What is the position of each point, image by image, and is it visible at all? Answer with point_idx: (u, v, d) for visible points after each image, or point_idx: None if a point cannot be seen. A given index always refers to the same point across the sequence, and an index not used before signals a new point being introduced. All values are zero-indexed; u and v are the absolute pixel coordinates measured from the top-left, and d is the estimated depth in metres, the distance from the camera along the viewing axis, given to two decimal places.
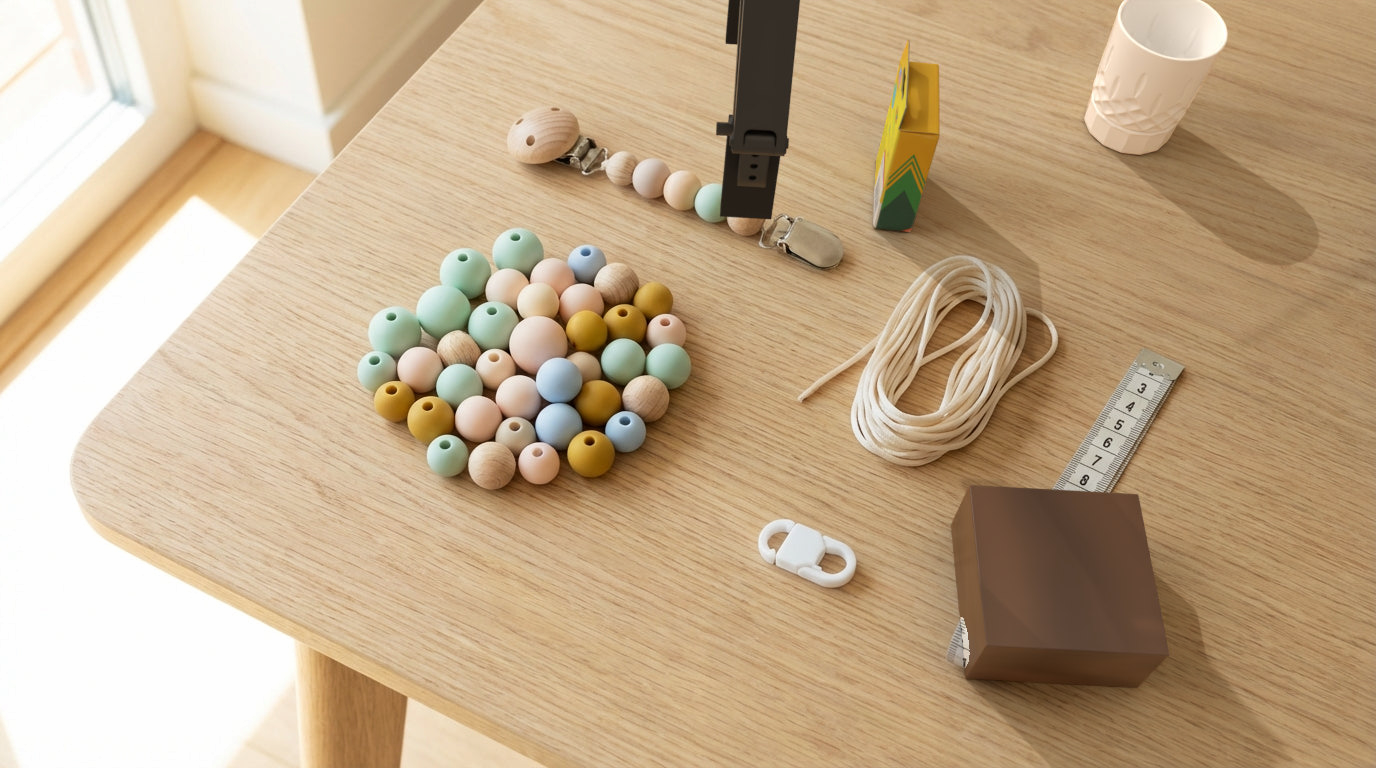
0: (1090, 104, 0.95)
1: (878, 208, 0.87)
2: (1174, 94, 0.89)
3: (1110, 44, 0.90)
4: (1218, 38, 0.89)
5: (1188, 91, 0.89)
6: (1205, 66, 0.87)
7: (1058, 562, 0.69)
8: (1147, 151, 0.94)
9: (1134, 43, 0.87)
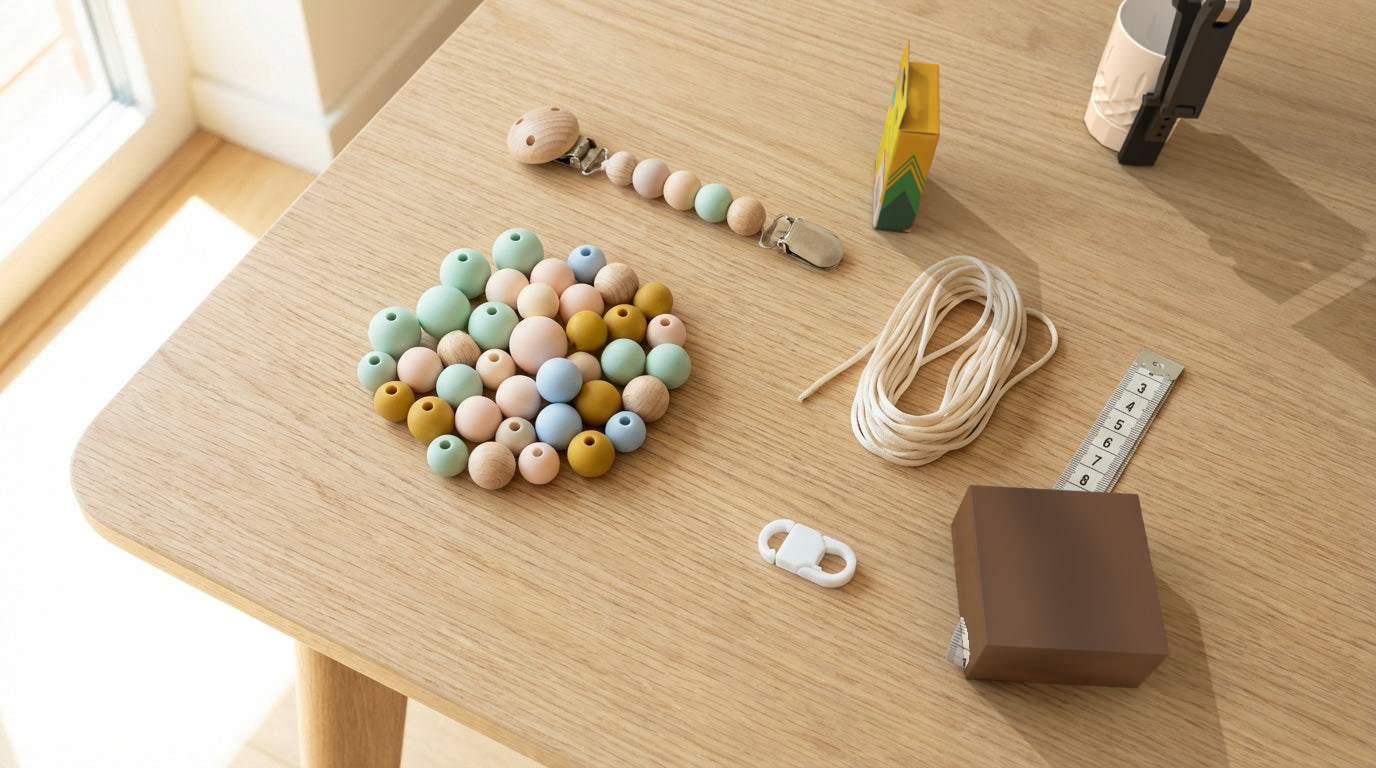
0: (1090, 104, 0.95)
1: (878, 208, 0.87)
2: None
3: (1110, 44, 0.90)
4: None
5: None
6: None
7: (1058, 562, 0.69)
8: None
9: (1134, 43, 0.87)
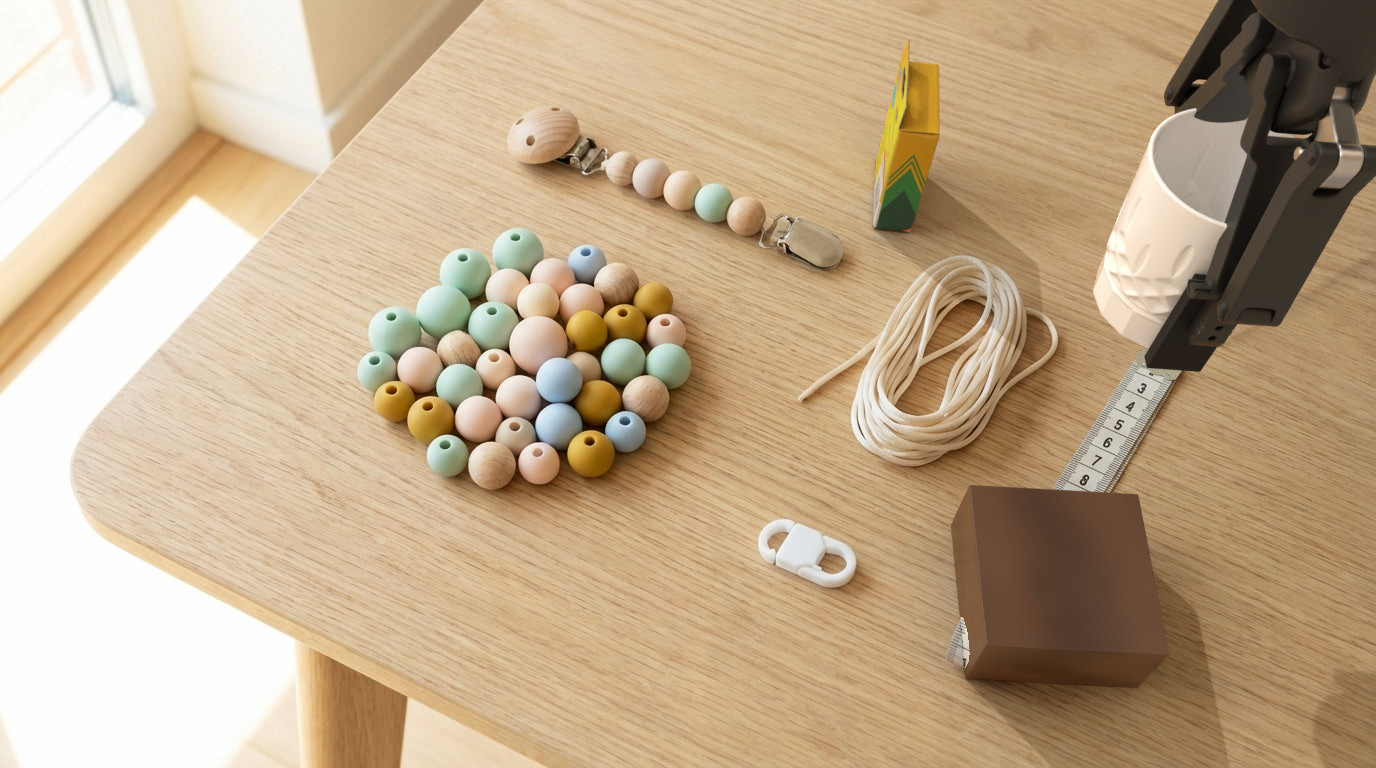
0: (1102, 273, 0.62)
1: (878, 208, 0.87)
2: None
3: (1135, 194, 0.57)
4: None
5: None
6: None
7: (1058, 562, 0.69)
8: None
9: (1174, 200, 0.54)
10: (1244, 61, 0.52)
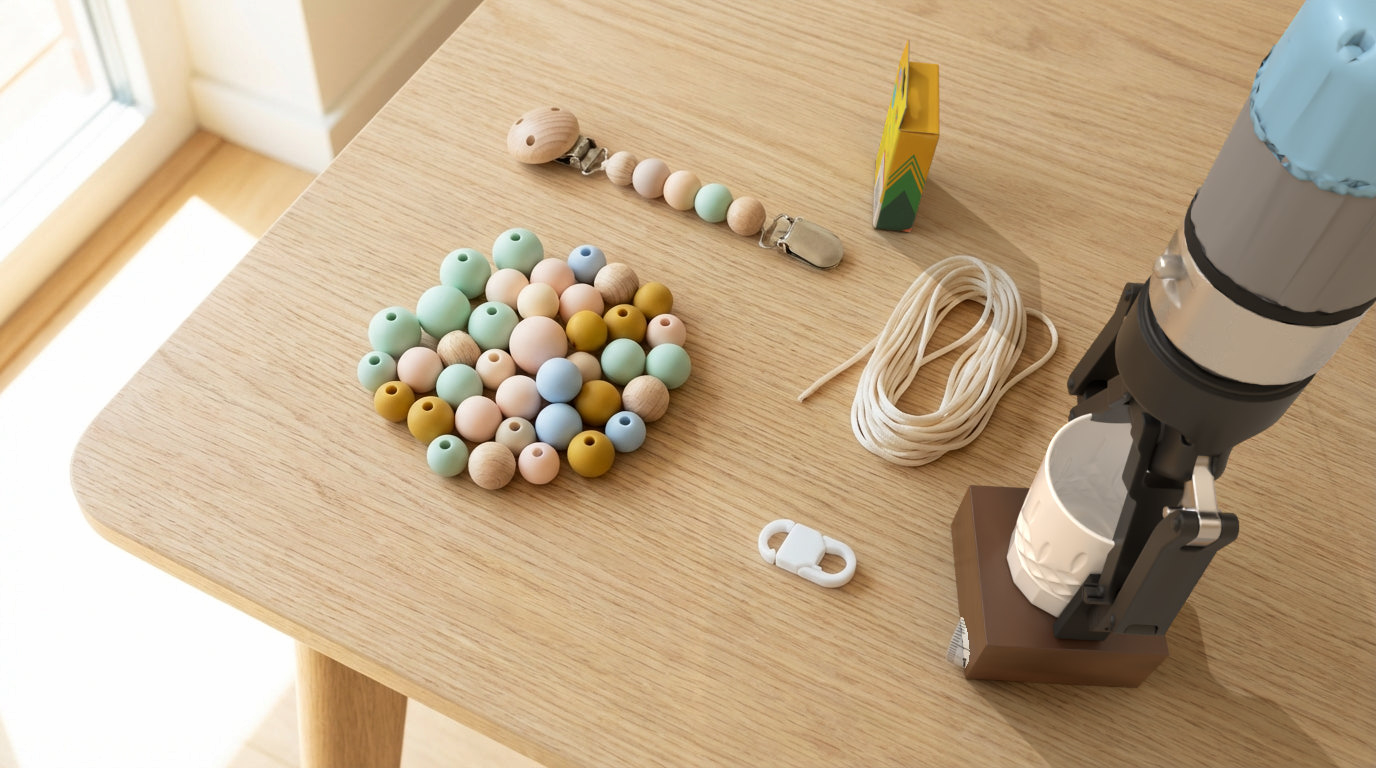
0: (1013, 546, 0.67)
1: (878, 208, 0.87)
2: None
3: (1036, 495, 0.62)
4: None
5: None
6: None
7: None
8: None
9: (1067, 517, 0.59)
10: (1125, 399, 0.57)
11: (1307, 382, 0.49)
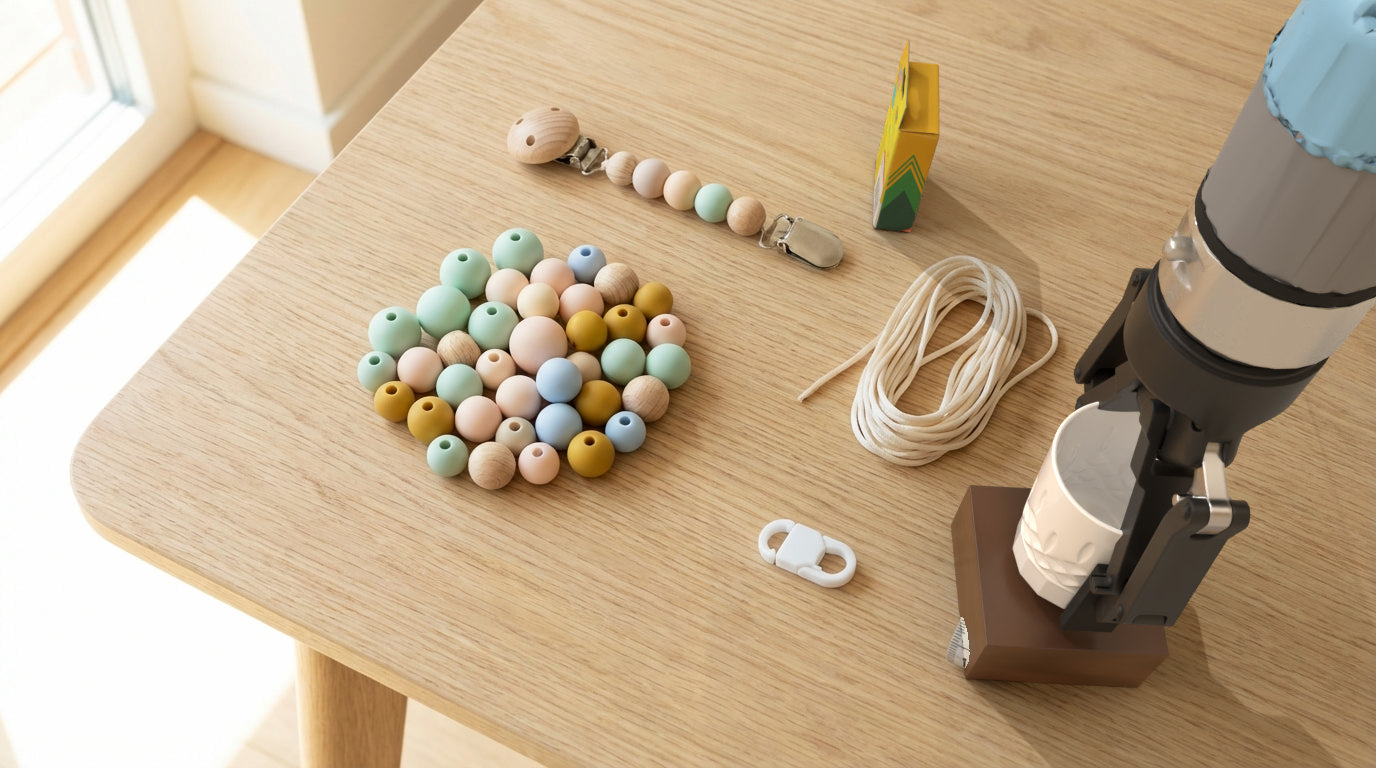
0: (1019, 537, 0.66)
1: (878, 208, 0.87)
2: None
3: (1042, 485, 0.61)
4: None
5: None
6: None
7: None
8: None
9: (1074, 506, 0.58)
10: (1134, 386, 0.56)
11: (1320, 366, 0.48)
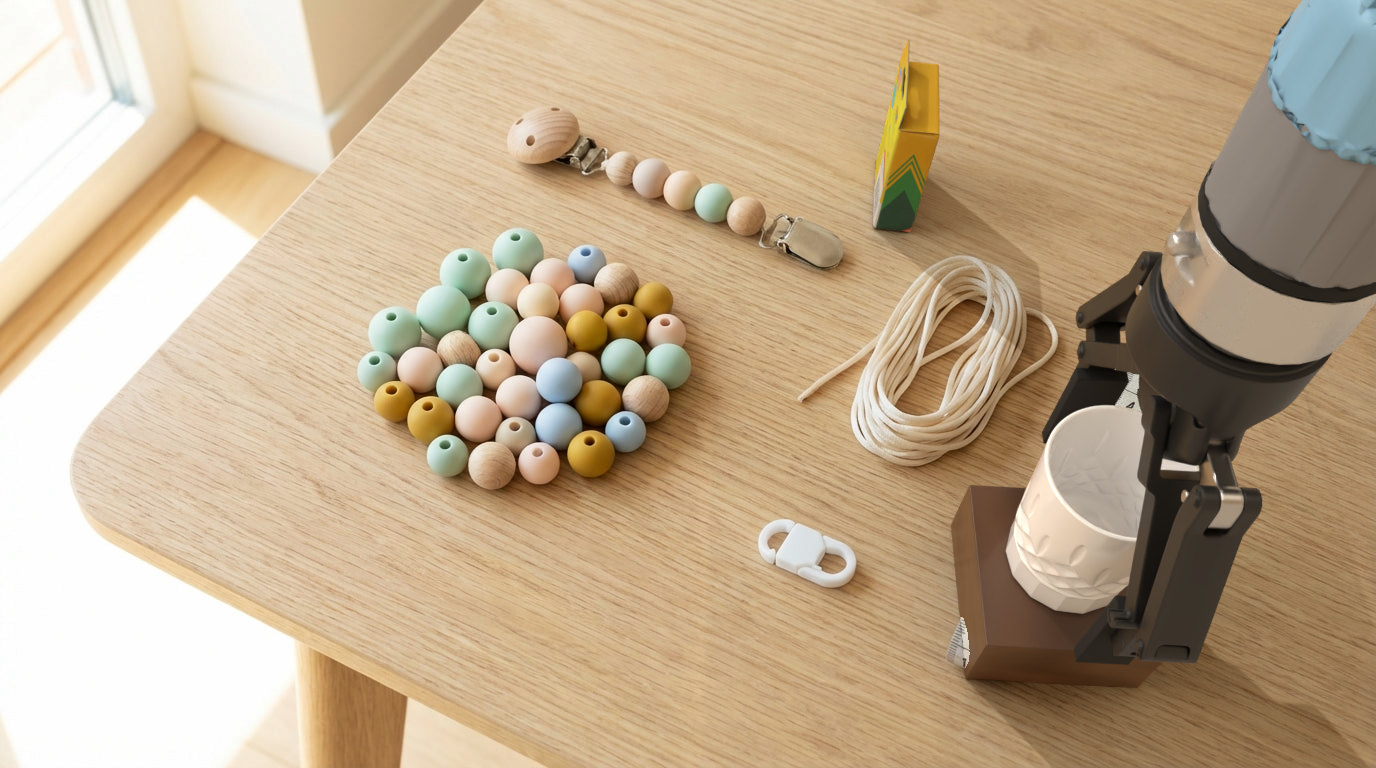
0: (1012, 540, 0.67)
1: (878, 208, 0.87)
2: (1126, 569, 0.61)
3: (1035, 488, 0.62)
4: None
5: None
6: None
7: None
8: (1092, 609, 0.67)
9: (1067, 509, 0.59)
10: None
11: (1323, 363, 0.48)
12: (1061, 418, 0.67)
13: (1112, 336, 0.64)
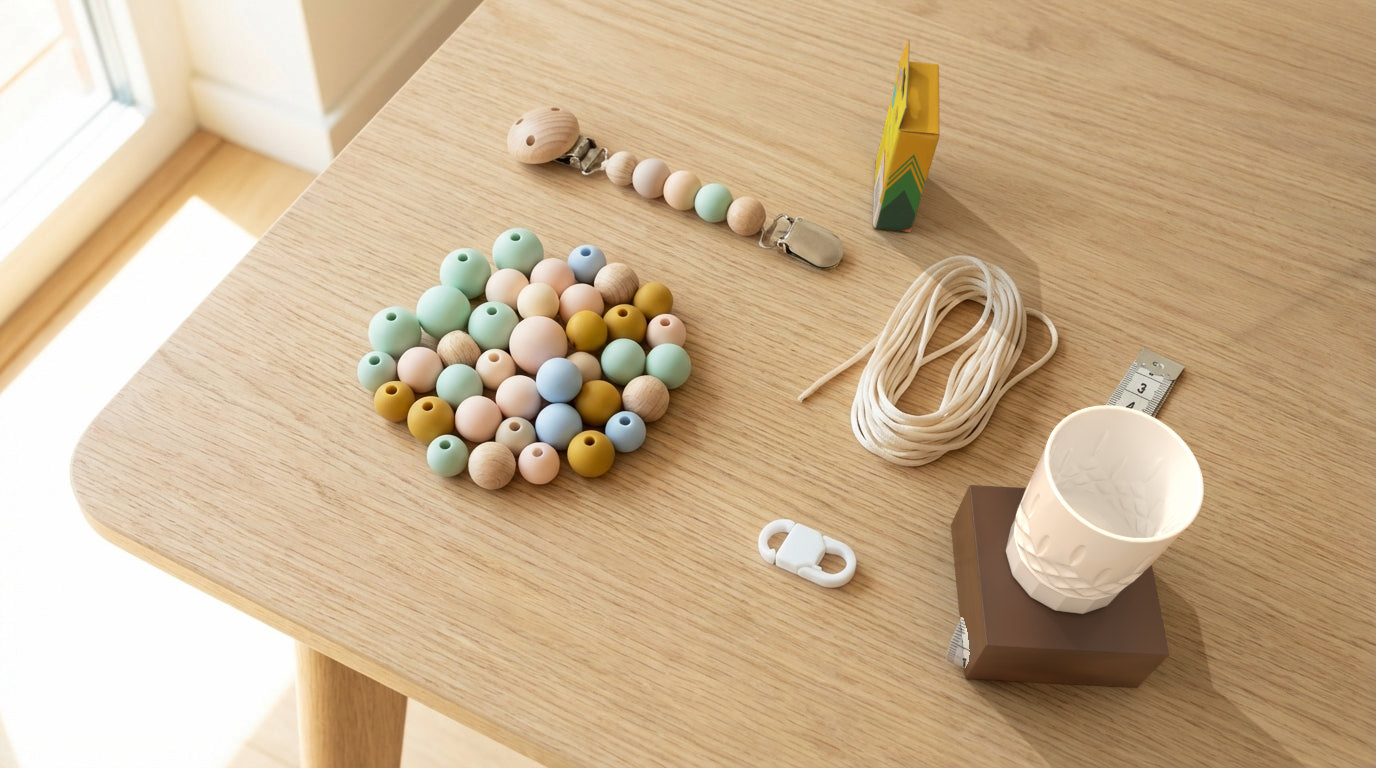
0: (1013, 540, 0.67)
1: (878, 208, 0.87)
2: (1126, 569, 0.61)
3: (1035, 488, 0.62)
4: (1190, 488, 0.61)
5: (1147, 563, 0.61)
6: (1171, 541, 0.60)
7: None
8: (1092, 609, 0.67)
9: (1067, 509, 0.59)
10: None
11: None
12: None
13: None
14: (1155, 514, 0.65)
